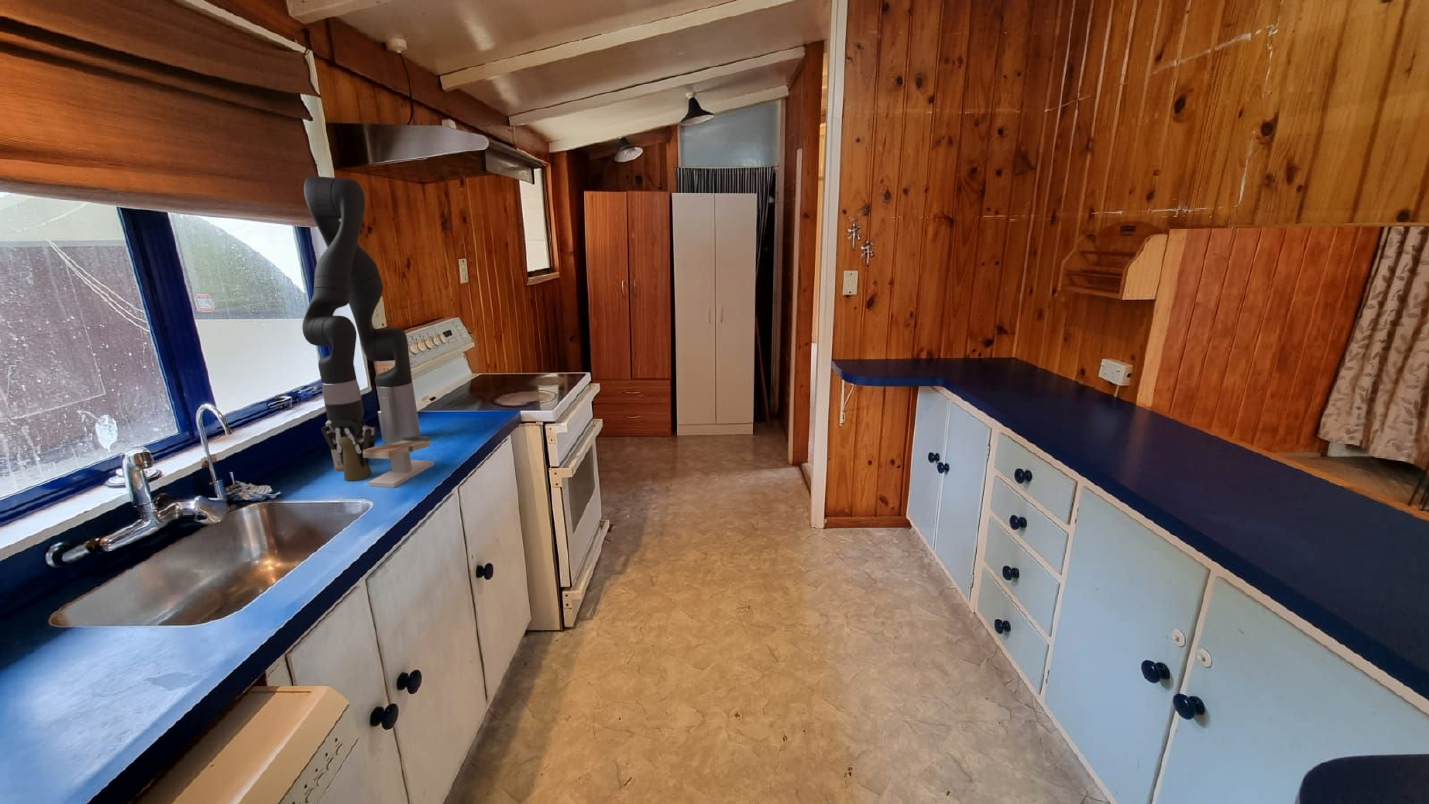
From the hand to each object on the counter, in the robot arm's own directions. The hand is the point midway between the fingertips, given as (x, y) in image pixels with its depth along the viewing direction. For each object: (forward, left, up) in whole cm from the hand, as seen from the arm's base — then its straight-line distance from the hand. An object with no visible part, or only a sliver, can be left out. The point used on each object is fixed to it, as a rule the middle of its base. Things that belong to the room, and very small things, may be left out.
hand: (355, 465), depth 141 cm
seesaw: (+11, +2, +4) cm, 12 cm away
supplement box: (-9, +7, -3) cm, 12 cm away
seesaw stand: (+11, +2, -3) cm, 11 cm away
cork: (0, 0, -3) cm, 3 cm away
